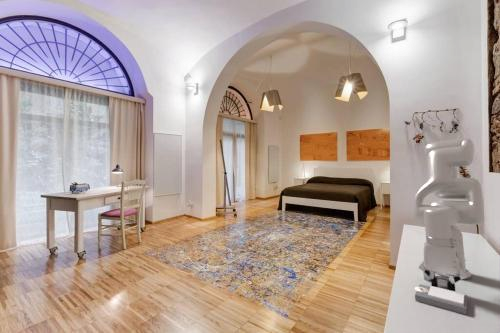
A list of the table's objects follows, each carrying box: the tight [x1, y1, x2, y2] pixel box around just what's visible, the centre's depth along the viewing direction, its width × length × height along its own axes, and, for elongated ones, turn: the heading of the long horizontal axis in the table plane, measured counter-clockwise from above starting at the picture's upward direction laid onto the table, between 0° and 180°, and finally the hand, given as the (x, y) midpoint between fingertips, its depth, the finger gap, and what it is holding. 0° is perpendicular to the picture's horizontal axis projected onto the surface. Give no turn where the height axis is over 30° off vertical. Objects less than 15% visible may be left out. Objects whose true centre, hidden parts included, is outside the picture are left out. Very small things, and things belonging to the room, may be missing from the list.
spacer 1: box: [422, 271, 437, 283], centre depth 94 cm, size 4×4×5 cm
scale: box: [414, 284, 468, 316], centre depth 79 cm, size 10×14×3 cm
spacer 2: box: [435, 275, 450, 290], centre depth 85 cm, size 4×4×5 cm
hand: (443, 290), depth 85 cm, fingers closed on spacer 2, 4 cm apart
